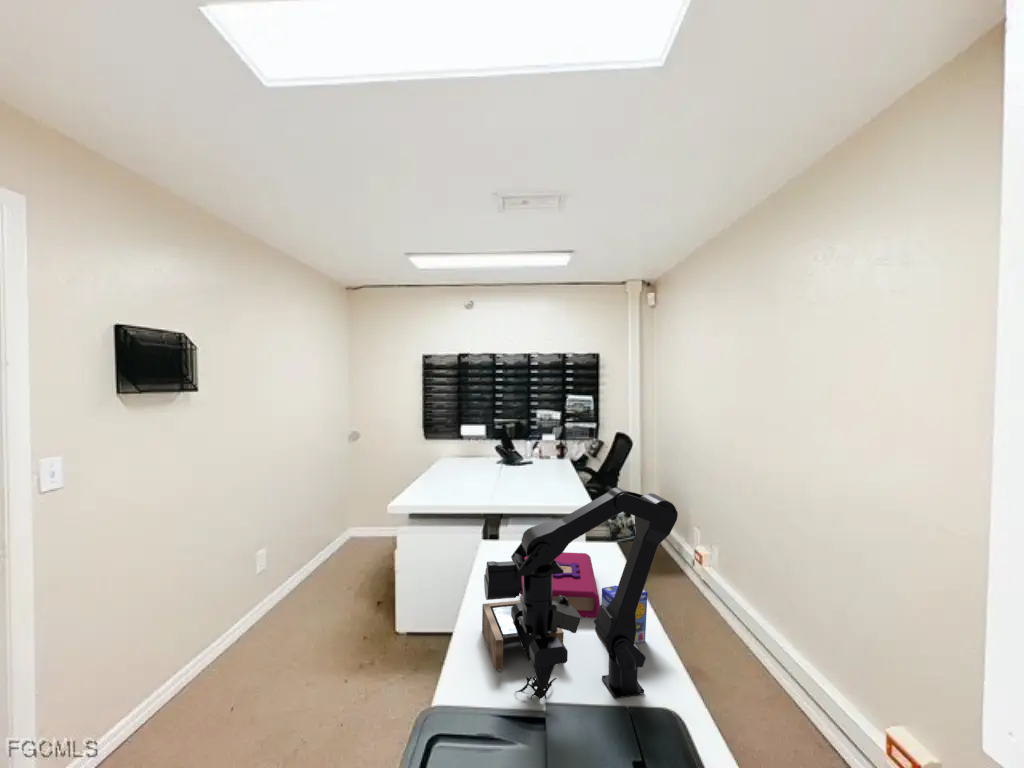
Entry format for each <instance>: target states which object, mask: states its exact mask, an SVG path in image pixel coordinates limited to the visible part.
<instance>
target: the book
mask: <svg viewBox="0 0 1024 768" xmlns="http://www.w3.org/2000/svg"><path fill="white" fill-rule="evenodd" d="M524 559H525V560H526V559H527V556H526V557H525V558H524ZM555 561H556V562H557V563H558V564H559V565H560V567H561V568H562V569H563V573H562V574H553V582H552V600H553V602H554V600H555V599H556V598H557V597H558V596H559V595H561V596H565V597H566V598H567V600H568V603H569V605H571V606H572V607H573V608H575V609H576V610H577V612H578V613H579V614H580V616H581V618H586V617H587V619H588V618H589V619H596V618H597V615H598V612H599V607H600V605H601V602H600V601H601V599H600V595H599V590H598V587H597V582H596V577H595V572H594V568H593V563H592V558H591V555H589V554H587V553H583V552H565V551H563V553H562V554H560V555H559V556H558V557H557V558H556V559H555ZM519 595H520V596H523V576H522V590H521V592H520V593H519Z"/></svg>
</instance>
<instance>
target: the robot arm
mask: <svg viewBox="0 0 1024 768" xmlns="http://www.w3.org/2000/svg"><path fill="white" fill-rule="evenodd" d="M678 512H679V511H677V508H676V506H675V505H674V504H673V502H670V501H669V500H667V499H665V498H663V497H661V496H660V495H658V494H656V493H653V492H652V493H651V492H650V493H646V494H640V493H638V492H634V491H630V490H629V491H628V490H624V489H622V488H620V487H613V488H610V489H609V490H608V492H606V493H604V494H603V495H600V496H599V497H596V498H595V499H594V500H591V501H590V502H588V503H587V504H584V505H583V506H581V507H580V508H578V509H575V510H574V511H572V512H571V513H569V514H567V515H565V516H563V517H562V518H559V519H558V520H557V519H556V520H553V521H547V522H542V523H539V524H537V525H533V526H531V527H529V528H527V529H526V530H524V532H523V533H522V537H521V542H520V544H519V545H518V547H517V548H516V549H515V551H513V554H511V556H510V558H511V561H491V560H490V561H487V562H486V568H485V570H484V571H485V573H484V575H483V586H484V587H483V588H484V596H485V600H487V601H489V600H490V601H492V600H504V599H505V600H506V599H515V598H517V597H519V598H520V599H519V600H520V601H521V603H515V604H514V606H513V607H512V608H511V617H512V619H513V623H514V626H515V628H516V631H517V634H518V636H517V637H518V639H519V641H520V644H521V646H522V649H523V652H524V655H525V657H526V660H527V661H528V662H530V663H531V665H532V669H533V672H534V671H535V674H534V675H536V677H537V680H538V683H539V686H540V688H541V689H544V690H545V689H546V688H547V686H548V684H549V683H550V681H551V680H550V679H551V677H552V674H553V670H554V668H555V666H557V665H563V664H566V663H567V662H568V655H569V654H568V648H566V646H565V645H564V641H563V642H562V641H561V640H560V639H559V638H558V637H550V635H549V631H551V632H557V627H558V628H560V629H562V630H563V631H564V630H565V631H567V632H568V631H569V632H570V633H571V634H577V631H578V628H579V626H580V624H581V620H582V617H581V616H580V614H579V613H578V612H577V610H576V609H575V608H573V607H572V606H571V605H569V603H568V600H567V598H566V597H565V596H561V595H559V596H558V597H557V598H556V599H555V600H554V602H553V600H552V582H553V574H562V573H563V569H562V568H561V567H560V565H559V564H558V563H557V562H556V561H555V559H556V558H557V557H558V556H559V555H560V554H562V553H563V552H565V550H566V548H567V547H568V546H569V545H570V544H571V543H572V542H573V541H575V540H576V539H578V538H580V537H582V536H583V535H585V534H586V533H588V532H590V531H592V530H594V529H595V528H597V527H599V526H601V525H603V524H604V523H606V522H607V521H610V520H611V519H613V518H614V517H616V516H618V515H619V514H621V513H626V514H629V515H631V516H634V527H635V529H634V530H635V531H634V532H635V533H634V538H633V540H632V544H631V547H630V551H629V553H628V556H627V559H626V562H625V564H624V566H623V567H624V568H623V570H622V573H621V575H620V576H621V577H620V579H619V581H618V584H617V586H618V588H617V591H616V593H615V596H614V599H613V601H612V602H611V603H610V604H609V605H608V606H607V607H605V606H603V605H601V604H600V607H599V612H598V615H597V617H596V618H594V620H593V623H594V625H595V628H594V629H595V630H594V631H595V634H596V636H597V638H598V639H599V642H601V644H602V646H603V647H604V648H605V650H606V652H607V653H608V671H607V672H608V673H607V674H604V675H601V680H602V681H603V683H604V684H605V686H606V687H607V689H608V691H609V692H610V693H611V695H612V696H613V698H616V699H618V698H624V697H625V698H626V697H630V696H637V695H643V694H645V690H644V688H643V686H642V685H641V684H640V683H639V682H638V676H639V675H638V672H639V671H638V669H640V668H643V667H644V665H645V662H646V659H647V657H646V654H644V653H643V651H642V650H641V648H640V647H639V646H638V645H637V643H635V638H636V632H637V630H636V610H637V607H638V604H639V601H640V598H641V595H642V592H643V589H644V590H645V586H646V584H647V583H646V582H647V579H648V578H649V573H650V571H651V568H652V565H653V562H654V560H655V557H656V554H657V550H658V548H659V546H660V544H662V542H663V541H665V539H666V538H667V537H668V536H670V534H671V533H672V530H673V529H674V526H675V525H676V523H677V520H678V516H679V514H678ZM526 556H527V559H526V560H525V559H524V558H525V557H526ZM522 576H523V596H521V595H520V592H521V590H522Z"/></svg>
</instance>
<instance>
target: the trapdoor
mask: <svg viewBox="0 0 1024 768" xmlns="http://www.w3.org/2000/svg"><path fill="white" fill-rule="evenodd" d="M512 607H513V606H508V607H498V608H493V614H494V616H495V619H496V621H497V624H498V626H499V628H500V631H501V632H500V633H501V635H502V638H503V639H507V638H514V637H519V636H518V634H517V631H516V628H515V626H514V623H513V619H512V617H511V608H512ZM549 633H551V631H549Z"/></svg>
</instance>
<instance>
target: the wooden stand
mask: <svg viewBox="0 0 1024 768" xmlns="http://www.w3.org/2000/svg"><path fill="white" fill-rule="evenodd" d="M515 603H521V601H520V599H519V600H509V601H500V602H488V603H482V607H481V608H482V619H481V623H482V624H481V627H482V628H481V630H482V633H483V637H484V639H485V643H486V645H487V648H488V652H489V655H490V657H491V660H492V664H493V665H494V666H493V668H494V669H495V671H496V672H497V671H501V670H502V671H503V669H504V667H503V666H504V665H503V664H504V638H503V636H502V633H501V632H500V628H499V626H498V624H497V621H496V619H495V616H494V614H493V608H498V607H508V606H514V604H515ZM549 635H550V637H558V638H559V639H560V640H561V641H562V642H563V643H564V630H563V629H560V628H558V627H557V632H551V633H549Z"/></svg>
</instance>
